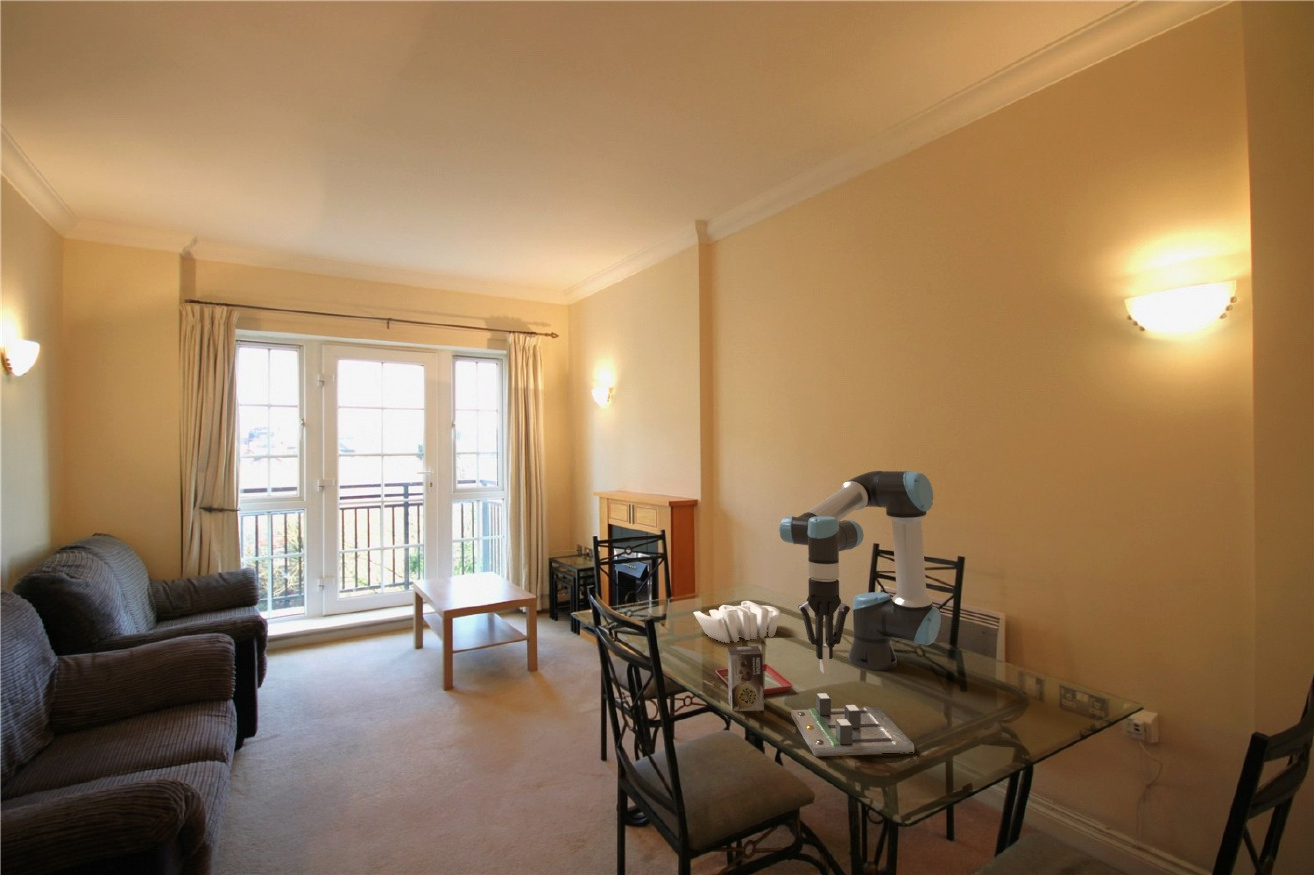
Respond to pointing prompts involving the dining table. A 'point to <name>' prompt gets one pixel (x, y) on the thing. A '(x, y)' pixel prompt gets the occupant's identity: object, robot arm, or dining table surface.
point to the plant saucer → (778, 677)
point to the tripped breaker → (853, 715)
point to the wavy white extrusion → (739, 621)
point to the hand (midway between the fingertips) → (824, 671)
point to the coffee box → (745, 678)
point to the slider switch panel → (867, 740)
